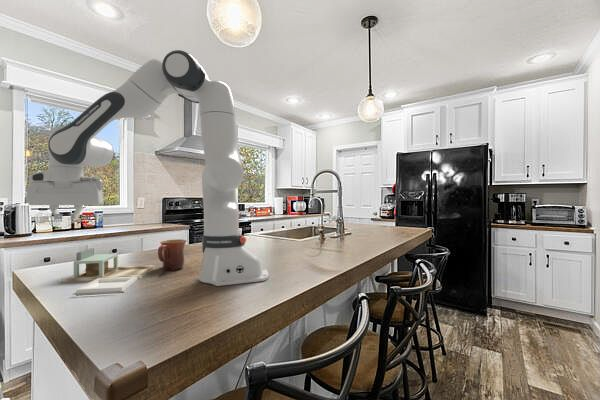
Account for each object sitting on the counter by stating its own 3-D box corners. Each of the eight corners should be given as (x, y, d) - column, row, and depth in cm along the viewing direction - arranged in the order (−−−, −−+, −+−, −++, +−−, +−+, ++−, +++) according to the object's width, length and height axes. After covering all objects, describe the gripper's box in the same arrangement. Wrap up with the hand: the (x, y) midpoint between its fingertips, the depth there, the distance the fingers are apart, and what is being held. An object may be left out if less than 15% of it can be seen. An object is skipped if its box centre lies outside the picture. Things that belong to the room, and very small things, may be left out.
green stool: (118, 269, 98) (118, 246, 98) (102, 278, 88) (102, 252, 88) (92, 270, 97) (92, 247, 97) (73, 279, 86) (73, 253, 86)
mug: (170, 265, 108) (170, 239, 108) (191, 266, 106) (191, 239, 106) (148, 273, 96) (148, 243, 96) (170, 274, 95) (170, 244, 95)
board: (154, 269, 102) (154, 265, 102) (140, 280, 88) (140, 275, 88) (86, 272, 98) (86, 268, 98) (61, 283, 84) (61, 279, 84)
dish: (137, 281, 87) (137, 276, 87) (122, 293, 76) (122, 287, 76) (97, 283, 85) (97, 278, 85) (76, 295, 74) (76, 289, 74)
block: (108, 272, 95) (108, 259, 95) (101, 276, 90) (101, 262, 90) (93, 273, 94) (93, 260, 94) (85, 276, 90) (85, 263, 90)
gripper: (106, 178, 96) (106, 218, 96) (37, 177, 91) (37, 219, 91) (97, 176, 89) (97, 219, 89) (22, 175, 85) (22, 220, 85)
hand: (66, 219), depth 90 cm, fingers open, 3 cm apart
